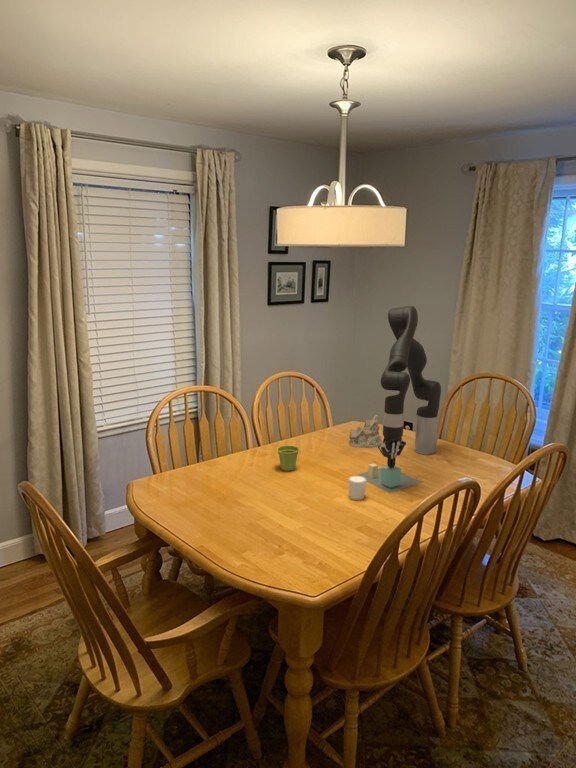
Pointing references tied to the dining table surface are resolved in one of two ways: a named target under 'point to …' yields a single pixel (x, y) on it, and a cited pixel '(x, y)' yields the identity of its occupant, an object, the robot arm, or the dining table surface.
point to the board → (375, 479)
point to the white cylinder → (357, 487)
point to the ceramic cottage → (366, 435)
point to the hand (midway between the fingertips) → (391, 466)
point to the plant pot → (288, 457)
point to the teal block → (390, 476)
